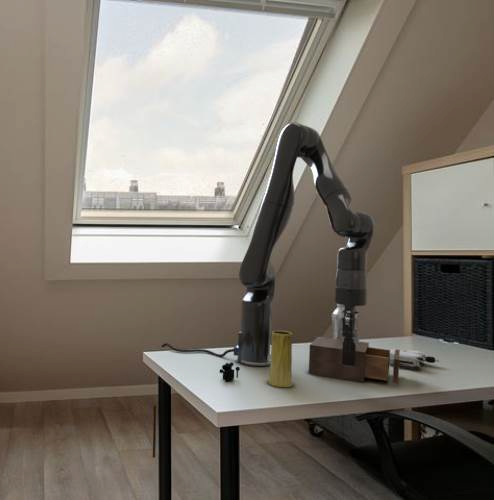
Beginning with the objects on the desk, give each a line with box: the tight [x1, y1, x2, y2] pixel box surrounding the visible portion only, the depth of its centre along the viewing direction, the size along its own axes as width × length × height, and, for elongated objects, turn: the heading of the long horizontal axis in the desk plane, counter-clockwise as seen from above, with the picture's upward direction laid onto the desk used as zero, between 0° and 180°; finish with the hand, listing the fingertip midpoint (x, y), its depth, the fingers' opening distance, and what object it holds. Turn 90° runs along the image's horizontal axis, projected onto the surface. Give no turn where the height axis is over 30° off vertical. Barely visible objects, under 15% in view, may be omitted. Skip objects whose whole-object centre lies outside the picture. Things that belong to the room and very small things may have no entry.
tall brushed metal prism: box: [340, 331, 360, 366], centre depth 127 cm, size 4×2×8 cm, turn 59°
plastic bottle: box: [331, 303, 345, 339], centre depth 157 cm, size 6×7×20 cm
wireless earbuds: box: [219, 361, 241, 382], centre depth 133 cm, size 7×2×5 cm, turn 117°
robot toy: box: [389, 349, 440, 366], centre depth 154 cm, size 12×4×15 cm
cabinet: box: [308, 336, 370, 383], centre depth 143 cm, size 15×15×9 cm
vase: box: [268, 330, 293, 388], centre depth 130 cm, size 6×6×14 cm
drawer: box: [364, 346, 421, 385], centre depth 138 cm, size 18×13×7 cm
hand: (348, 350), depth 127 cm, fingers closed on tall brushed metal prism, 2 cm apart
